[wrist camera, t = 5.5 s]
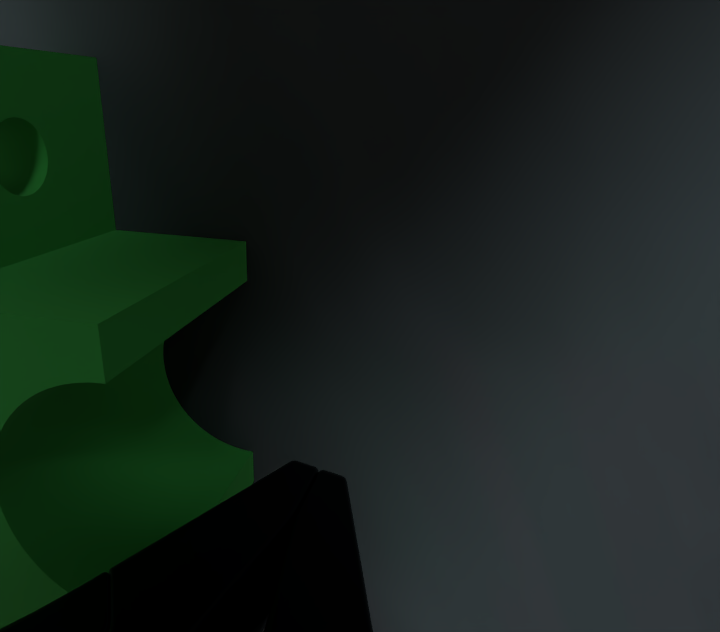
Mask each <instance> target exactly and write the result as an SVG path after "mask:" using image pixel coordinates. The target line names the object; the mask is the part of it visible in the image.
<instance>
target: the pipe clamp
mask: <svg viewBox="0 0 720 632" xmlns="http://www.w3.org/2000/svg"><path fill="white" fill-rule="evenodd" d="M246 281H247V260H246V241H236V240H225V239H213V238H202V237H191V236H179V235H168V234H156V233H145V232H134V231H122V230H116V226H115V217H114V208H113V199H112V191H111V182H110V173H109V164H108V155H107V147H106V138H105V129H104V120H103V112H102V103H101V94H100V85H99V76H98V68H97V59H96V58H95V57H87V56H79V55H71V54H64V53H56V52H48V51H40V50H32V49H25V48H17V47H9V46H1V45H0V628H2V627H4V626H6V625H8V624H10V623H12V622H14V621H16V620H18V619H20V618H22V617H24V616H26V615H28V614H30V613H32V612H34V611H36V610H38V609H40V608H42V607H43V606H45V605H47V604H49V603H51V602H52V601H54V600H56V599H58V598H60V597H61V596H63V595H65V594H67V593H69V592H70V591H72V590H74V589H76V588H78V587H79V586H81V585H83V584H84V583H86V582H88V581H89V580H91V579H93V578H94V577H96V576H98V575H100V574H101V573H103V572H108V573H109V570H110V569H111V568H112V567H114V566H115V565H117V564H119V563H120V562H122V561H124V560H125V559H127V558H129V557H130V556H132V555H134V554H136V553H137V552H139V551H141V550H142V549H144V548H146V547H147V546H149V545H151V544H152V543H154V542H156V541H158V540H159V539H161V538H163V537H164V536H166V535H168V534H169V533H171V532H173V531H174V530H176V529H178V528H179V527H181V526H183V525H185V524H186V523H188V522H190V521H191V520H193V519H195V518H196V517H198V516H200V515H201V514H203V513H205V512H207V511H208V510H210V509H212V508H213V507H215V506H217V505H218V504H220V503H222V502H223V501H225V500H227V499H229V498H230V497H232V496H234V495H235V494H237V493H239V492H240V491H242V490H244V489H245V488H247V487H249V486H250V485H252V484H253V482H254V469H253V452H252V451H247V450H243V449H240V448H236V447H233V446H231V445H229V444H226V443H224V442H222V441H220V440H218V439H216V438H215V437H213V436H212V435H210V434H209V433H207V432H206V431H205V430H203V429H202V428H201V427H200V426H199V425H197V424H196V423H195V422H194V421H193V420H192V419H191V418H190V417H189V416H188V414H187V413H186V412H185V411H184V409H183V408H182V407H181V405H180V404H179V402H178V401H177V399H176V397H175V395H174V393H173V391H172V389H171V387H170V384H169V382H168V379H167V375H166V371H165V366H164V358H163V346H164V341H165V340H166V339H168V338H169V337H171V336H172V335H173V334H175V333H176V332H177V331H179V330H180V329H182V328H183V327H184V326H186V325H187V324H188V323H190V322H191V321H192V320H194V319H195V318H197V317H198V316H199V315H201V314H202V313H203V312H205V311H206V310H208V309H209V308H210V307H212V306H213V305H214V304H216V303H217V302H219V301H220V300H221V299H223V298H224V297H225V296H227V295H228V294H230V293H231V292H232V291H234V290H235V289H236V288H238V287H239V286H241V285H242V284H243V283H245V282H246Z"/></svg>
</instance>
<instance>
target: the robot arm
mask: <svg viewBox="0 0 720 632" xmlns="http://www.w3.org/2000/svg"><path fill="white" fill-rule="evenodd" d="M265 624H266V626H265ZM264 626H265V630H264V632H373V629H372V624H371V618H370V612H369V607H368V601H367V595H366V589H365V584H364V578H363V572H362V566H361V561H360V555H359V549H358V544H357V538H356V532H355V526H354V521H353V515H352V509H351V503H350V498H349V492H348V486H347V481H346V479H345V478H344V477H343V476H340V475H337V474H334V473H331V472H328V471H325V470H321V471H320V472H318V469H317V468H316V467H313V466H310V465H307V464H304V463H301V462H298V461H291V462H289V463H288V464H286V465H284V466H283V467H281V468H279V469H278V470H276V471H274V472H272V473H271V474H269V475H267V476H266V477H264V478H262V479H261V480H259V481H257V482H256V483H254V484H252V485H250V486H249V487H247V488H245V489H244V490H242V491H240V492H239V493H237V494H235V495H234V496H232V497H230V498H229V499H227V500H225V501H223V502H222V503H220V504H218V505H217V506H215V507H213V508H212V509H210V510H208V511H207V512H205V513H203V514H201V515H200V516H198V517H196V518H195V519H193V520H191V521H190V522H188V523H186V524H185V525H183V526H181V527H179V528H178V529H176V530H174V531H173V532H171V533H169V534H168V535H166V536H164V537H163V538H161V539H159V540H158V541H156V542H154V543H152V544H151V545H149V546H147V547H146V548H144V549H142V550H141V551H139V552H137V553H136V554H134V555H132V556H130V557H129V558H127V559H125V560H124V561H122V562H120V563H119V564H117V565H115V566H114V567H112V568H111V569H110V570H109V573H108V572H103V573H101V574H100V575H98V576H96V577H94V578H93V579H91V580H89V581H88V582H86V583H84V584H83V585H81V586H79V587H78V588H76V589H74V590H72V591H70V592H69V593H67V594H65V595H63V596H61V597H60V598H58V599H56V600H54V601H52V602H51V603H49V604H47V605H45V606H43V607H42V608H40V609H38V610H36V611H34V612H32V613H30V614H28V615H26V616H24V617H22V618H20V619H18V620H16V621H14V622H12V623H10V624H8V625H6V626H4V627H2V628H0V632H262V630H263V628H264Z"/></svg>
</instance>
